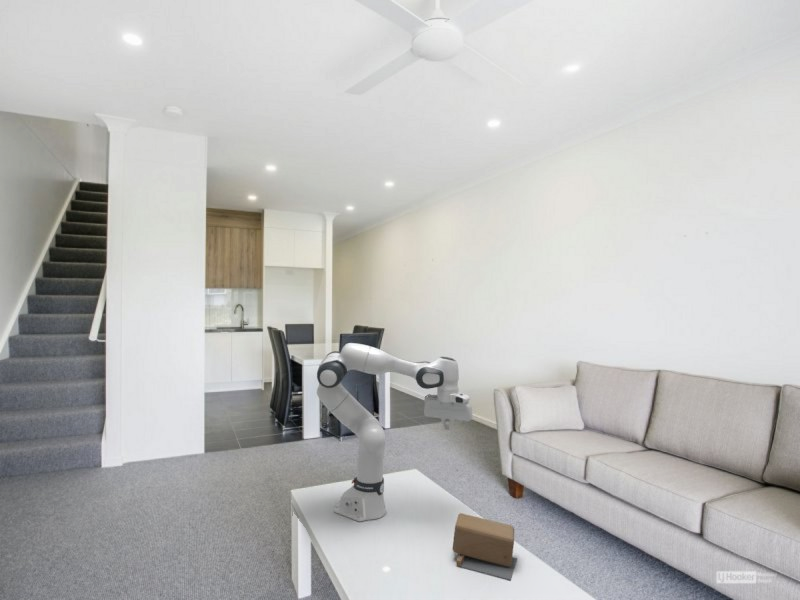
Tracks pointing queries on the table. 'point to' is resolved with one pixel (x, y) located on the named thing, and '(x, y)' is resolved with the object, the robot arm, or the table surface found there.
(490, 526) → the wooden block
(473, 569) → the mat
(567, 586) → the table surface
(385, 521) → the table surface
